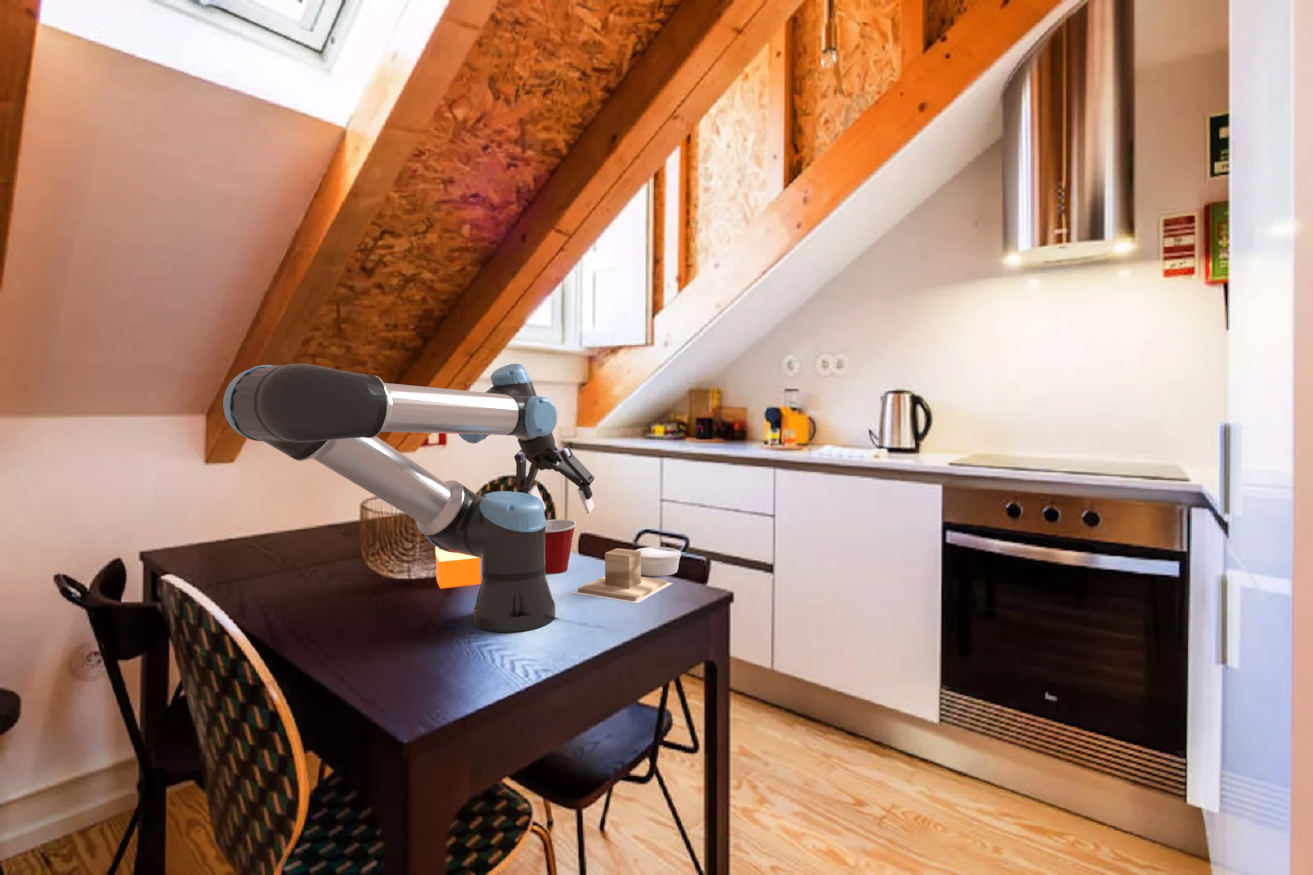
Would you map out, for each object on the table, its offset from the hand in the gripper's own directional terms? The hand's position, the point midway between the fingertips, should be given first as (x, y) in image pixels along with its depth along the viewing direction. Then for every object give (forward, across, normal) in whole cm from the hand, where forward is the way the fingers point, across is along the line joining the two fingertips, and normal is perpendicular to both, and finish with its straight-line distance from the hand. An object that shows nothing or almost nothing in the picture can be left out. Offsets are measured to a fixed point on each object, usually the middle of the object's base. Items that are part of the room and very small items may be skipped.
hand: (566, 510), depth 152 cm
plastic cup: (+14, +6, +6) cm, 16 cm away
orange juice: (+5, +21, +19) cm, 29 cm away
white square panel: (+13, -16, +12) cm, 24 cm away
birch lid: (+12, -16, +12) cm, 24 cm away
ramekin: (+21, -17, -2) cm, 27 cm away
